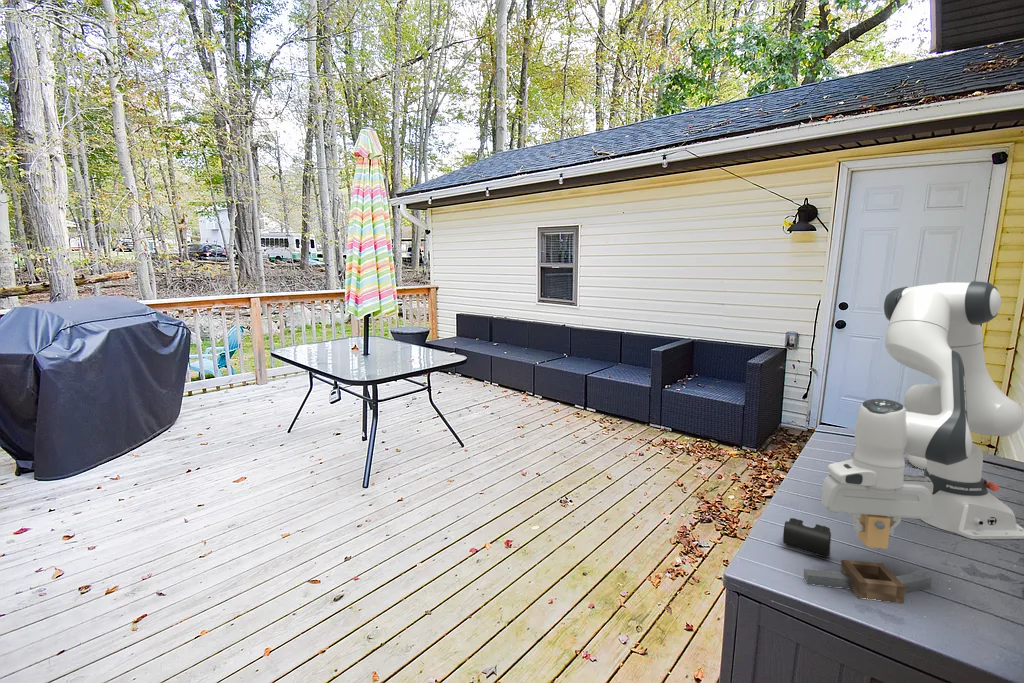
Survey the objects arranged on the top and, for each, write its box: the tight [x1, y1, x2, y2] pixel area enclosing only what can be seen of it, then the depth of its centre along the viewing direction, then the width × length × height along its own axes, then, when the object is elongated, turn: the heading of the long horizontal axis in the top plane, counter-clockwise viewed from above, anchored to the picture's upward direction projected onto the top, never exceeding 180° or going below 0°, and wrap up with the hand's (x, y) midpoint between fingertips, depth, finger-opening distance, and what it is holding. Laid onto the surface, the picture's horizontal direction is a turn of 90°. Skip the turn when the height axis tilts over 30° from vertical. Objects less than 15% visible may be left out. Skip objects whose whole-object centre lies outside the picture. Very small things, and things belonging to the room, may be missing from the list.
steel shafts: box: [803, 568, 932, 594], centre depth 104 cm, size 26×6×2 cm, turn 76°
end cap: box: [782, 517, 832, 558], centre depth 117 cm, size 10×7×7 cm
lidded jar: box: [905, 454, 927, 470], centre depth 164 cm, size 11×11×9 cm
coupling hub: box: [840, 558, 906, 604], centre depth 102 cm, size 8×8×4 cm
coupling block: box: [857, 514, 890, 550], centre depth 100 cm, size 4×5×7 cm
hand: (873, 531), depth 100 cm, fingers closed on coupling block, 4 cm apart
